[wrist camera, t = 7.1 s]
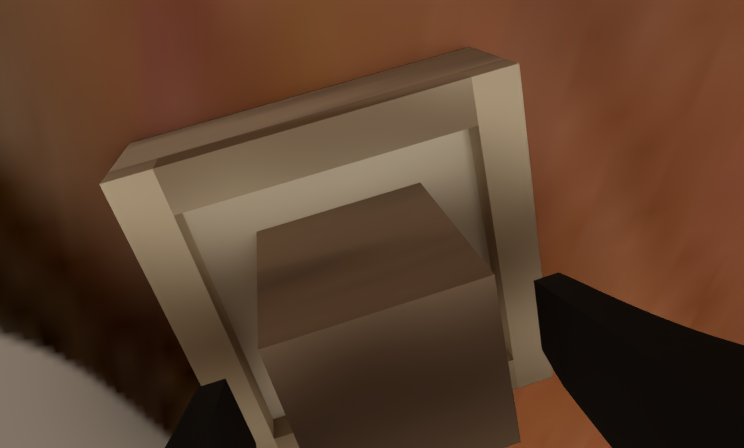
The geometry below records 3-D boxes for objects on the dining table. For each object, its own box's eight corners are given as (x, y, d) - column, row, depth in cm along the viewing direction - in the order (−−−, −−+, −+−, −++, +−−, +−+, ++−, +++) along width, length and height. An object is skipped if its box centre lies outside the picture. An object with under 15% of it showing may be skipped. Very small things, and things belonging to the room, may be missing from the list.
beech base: (509, 317, 20) (553, 376, 17) (249, 402, 19) (248, 478, 17) (469, 47, 16) (519, 63, 13) (129, 143, 15) (99, 184, 12)
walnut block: (448, 315, 16) (520, 441, 12) (305, 361, 16) (325, 509, 12) (420, 182, 14) (494, 274, 10) (256, 231, 14) (258, 350, 10)
